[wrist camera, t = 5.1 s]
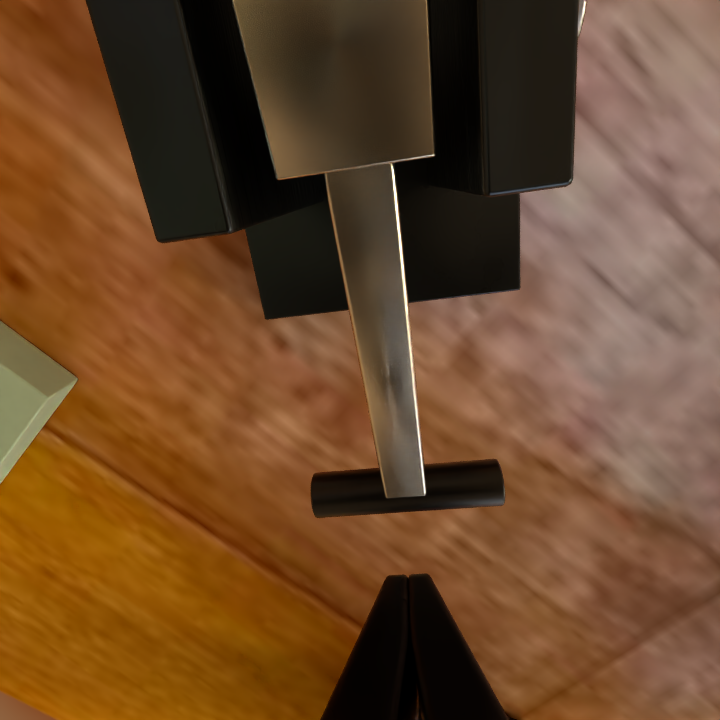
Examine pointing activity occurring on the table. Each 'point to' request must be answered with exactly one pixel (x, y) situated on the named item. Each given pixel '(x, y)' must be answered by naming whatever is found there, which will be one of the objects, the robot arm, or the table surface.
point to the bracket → (308, 194)
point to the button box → (26, 394)
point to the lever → (362, 214)
